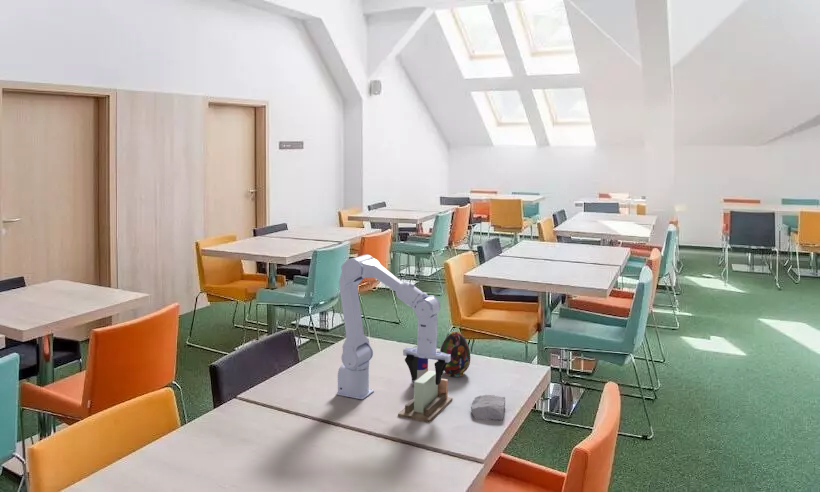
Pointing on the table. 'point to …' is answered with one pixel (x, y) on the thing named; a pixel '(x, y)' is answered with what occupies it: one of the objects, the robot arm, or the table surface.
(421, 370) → the energy drink
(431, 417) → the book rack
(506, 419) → the table surface
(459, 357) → the egg
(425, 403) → the book
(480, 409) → the stone block
